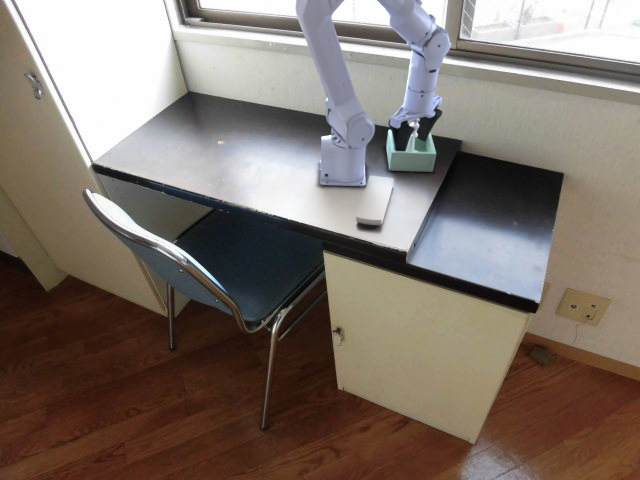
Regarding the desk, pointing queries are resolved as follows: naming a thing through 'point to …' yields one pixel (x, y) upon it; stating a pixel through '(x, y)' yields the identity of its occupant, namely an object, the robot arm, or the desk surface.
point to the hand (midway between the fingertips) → (410, 145)
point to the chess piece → (413, 136)
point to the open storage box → (411, 155)
